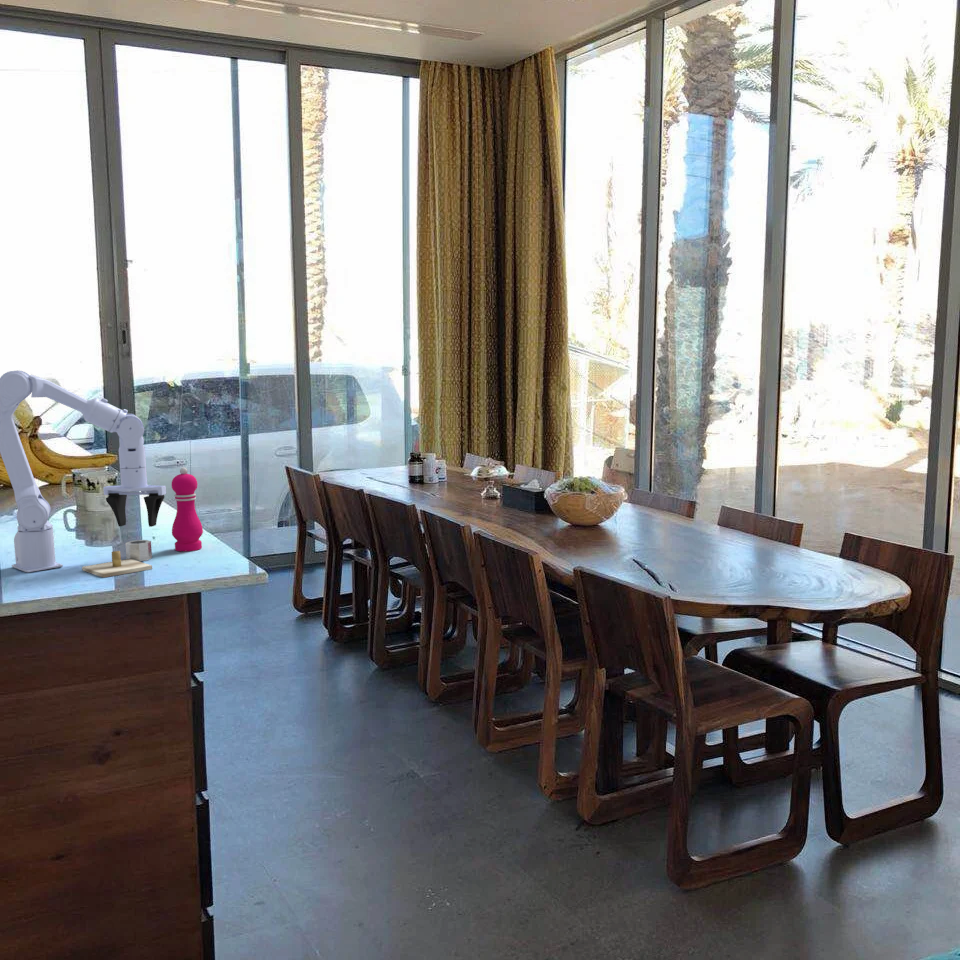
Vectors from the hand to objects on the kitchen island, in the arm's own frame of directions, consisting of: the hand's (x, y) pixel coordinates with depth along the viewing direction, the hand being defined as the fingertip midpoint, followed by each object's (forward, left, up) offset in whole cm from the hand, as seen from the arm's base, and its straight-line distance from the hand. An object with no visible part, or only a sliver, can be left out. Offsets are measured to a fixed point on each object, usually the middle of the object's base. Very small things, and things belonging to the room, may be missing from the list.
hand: (137, 525), depth 228 cm
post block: (+7, -9, -8) cm, 14 cm away
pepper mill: (-2, +13, -8) cm, 16 cm away
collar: (0, 0, -8) cm, 8 cm away
